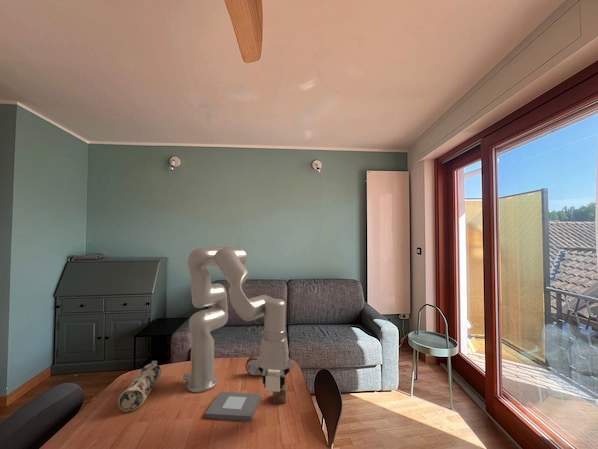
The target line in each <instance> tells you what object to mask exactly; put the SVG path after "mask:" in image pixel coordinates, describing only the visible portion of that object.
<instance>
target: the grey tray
mask: <svg viewBox="0 0 598 449" xmlns="http://www.w3.org/2000/svg"><path fill="white" fill-rule="evenodd" d="M261 399H262V394H261V393H253V392H251V393H250V392H231V391H219V392H218V394H217V395H216V397H215V399H214V400H213V401H212V403H211V404H210V406H209V407H208V408H207V409H206V411H205V412H204V419H215V420H216V419H219V420H233V421H234V420H236V421H247V422H248V421H249V422H251V421H253V418H254V416H255V413H256V411H257V408H258V406H259V403H260V400H261Z"/></svg>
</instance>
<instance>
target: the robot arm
mask: <svg viewBox="0 0 598 449" xmlns="http://www.w3.org/2000/svg"><path fill="white" fill-rule="evenodd" d="M247 260H248V254H247V252H246V251H245V249H243V248H242V247H240V246H235V247H234V246H207V247H206V246H204V247H198V248H195V249H193V250H192V251H191V252H189V255H188V257H187V267H188V271H189V276H190V291H191V302H192V305H193V307H194V308H196V309H203V308H206V307H207V309H203V310H199V311H198V312H195V313H194V314H192V315H191V316H190V318H189V321H188V322H189V323H188V326H189V331H190V342H191V343H190V344H191V345H190V350H191V352H190V353H191V354H190V372H184V373H183V374H182V381H187V383H186V389H187V390H188V391H189V392H191V393H203V392H207V391H209V390H211V389H213V388H214V387H216V386H217V384H218V380H219V379H218V377H217V376H216V375H215V339H214V337H213V336H212V334H211V332H213V331H214V330H217V329H220V328H222V327H224V326H225V325H226V324H227V323H228V319H229V308H228V307H229V306H228V296H229V302H230V304H231V306H232V307H233V309H234V310H235V312H236V314H237V315H238V316H239V318H240V319H242V320H243V321H245V322H251V321H254V320H257V319H259V318H262V317H264V329H263V330H260V335H263V337H262V338H261V342H260V349H259V350H260V351H259V356H260V357H259V358H258V359H257V360H256V362H255V363H254V366H256V367H257V368H258V370H259V371H260V372H261V373H262V375H263V376H262V384H264V385H263V386H264V387H263V388H265V384H266V374H267V369H271V370H280V372H281V377H280V389H282V387H283V385H284V384H285V383H286V375H287V374H289V372H290V371H292V370H293V369H295V364H294V362H293V361H292V359H291V358H290V356H289V344H288V338H287V336H286V307H287V306H286V301H285V300H284V299H281V298H273V297H272V296H269V295H267V294H262V295H261V294H260V295H258V296H254V297H250V298H248V297H247V295H246V294H245V292H244V291H243V289H242V285H243V284H244V283H245V282H246V281H247V279H248V278H249V274H250V272H249V271H248V269H247V268H246V267H245V265H246V263H247ZM214 266H215V267H216V266H217V267H218V268H219V270H220V271H221V273H222V274H223V276H224V277H225V279H226V280H227V282H228V283H229V291H228V293H229V295H228V293H227V289H226V288H225V286H224V285H223V284H221V283H216V282H215V283H212V276H211V273H210V271H209V269H208V268H207V267H214ZM210 306H212V307H210ZM208 307H210V308H208Z"/></svg>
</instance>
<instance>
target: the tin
mask: <svg viewBox="0 0 598 449" xmlns="http://www.w3.org/2000/svg"><path fill="white" fill-rule="evenodd" d="M259 357H260V355H252V356H250V357H249V358H248V359H247V360H246V363H245V371H246V372H247V373H248V374H249V375H250V376H255V377H263V375H262V373H261V372H260V371H259V370H258V368H257V367H256V366H254V363H255V362H256V360H257V359H258V358H259ZM267 372H268V369H267Z"/></svg>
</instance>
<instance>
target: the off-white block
mask: <svg viewBox="0 0 598 449" xmlns="http://www.w3.org/2000/svg"><path fill="white" fill-rule="evenodd" d="M280 377H281V372H280V370H271V369H268V372H267V374H266V384H265V387H264V388H265V389H264V390H265V391H266V392H273V391H275V392H280Z"/></svg>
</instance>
